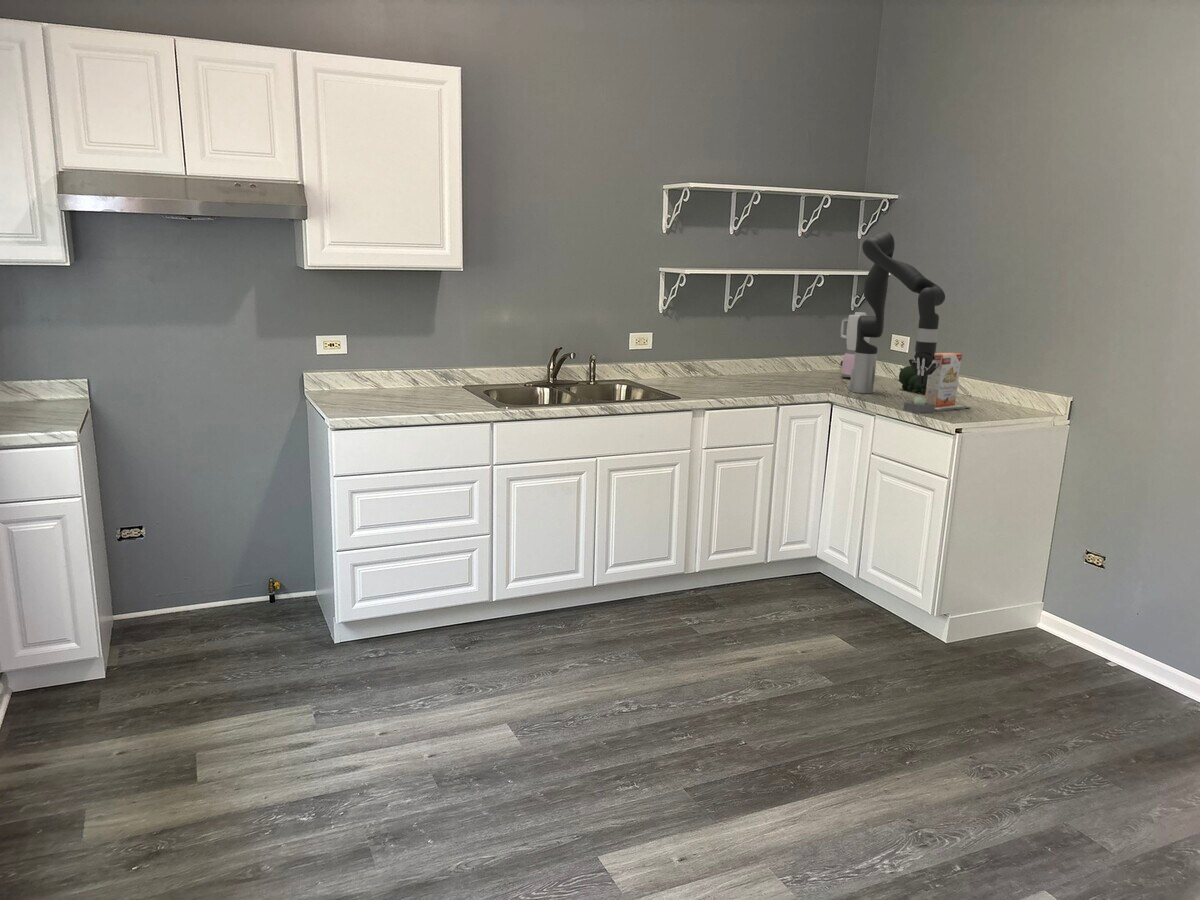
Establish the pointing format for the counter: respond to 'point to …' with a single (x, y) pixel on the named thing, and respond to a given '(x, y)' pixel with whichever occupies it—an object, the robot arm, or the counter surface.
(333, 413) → the counter surface
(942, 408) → the mat
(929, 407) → the grey square holder
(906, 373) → the toy figurine
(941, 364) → the cracker box
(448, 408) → the counter surface
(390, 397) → the counter surface
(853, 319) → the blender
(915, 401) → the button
